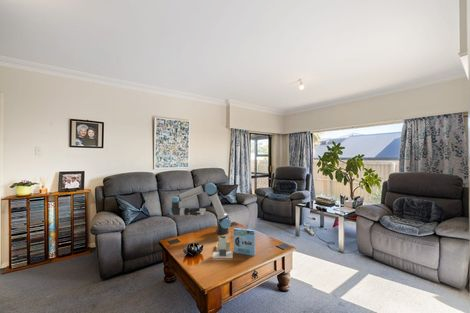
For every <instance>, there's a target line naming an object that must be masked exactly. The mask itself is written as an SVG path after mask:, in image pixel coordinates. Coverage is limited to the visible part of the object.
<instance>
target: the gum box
mask: <svg viewBox="0 0 470 313" xmlns="http://www.w3.org/2000/svg"><path fill="white" fill-rule="evenodd" d="M233 254H240V255H245V256H253V257H254V256H255V254H256V230H255V229H254V228H244V227H234V228H233Z"/></svg>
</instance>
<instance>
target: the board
mask: <svg viewBox="0 0 470 313" xmlns="http://www.w3.org/2000/svg"><path fill="white" fill-rule="evenodd" d="M233 254H234V250H233V251H231V250H230V251H226V256H219V251H213V252H212V257H211V258H212V259H233V257H234V255H233Z"/></svg>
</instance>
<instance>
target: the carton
mask: <svg viewBox="0 0 470 313" xmlns="http://www.w3.org/2000/svg"><path fill="white" fill-rule="evenodd" d="M215 247H216V248H215V252H219V241H217V242H216V246H215ZM226 252H231V241H226Z"/></svg>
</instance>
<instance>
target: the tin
mask: <svg viewBox="0 0 470 313" xmlns="http://www.w3.org/2000/svg"><path fill="white" fill-rule="evenodd" d="M218 239H219V241H218V242H219V251H218V252H219V256H226V252H227V251H226V242H227V235H220V236H219V237H218Z"/></svg>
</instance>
